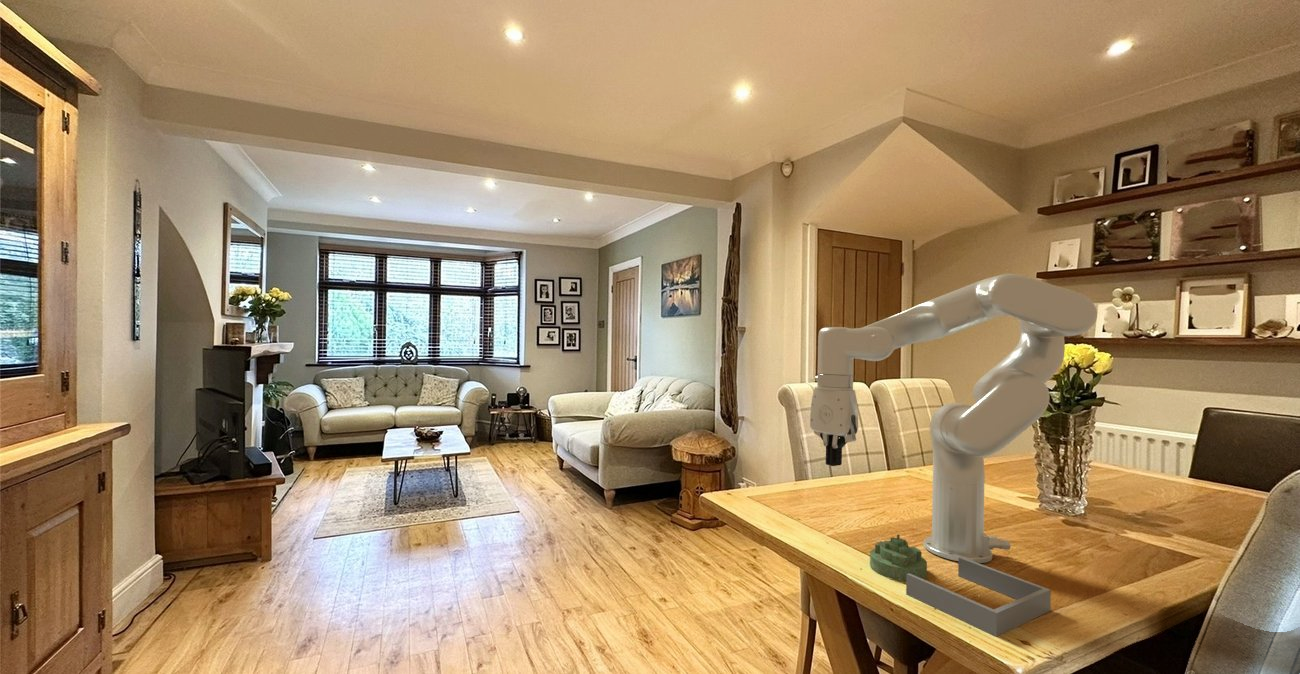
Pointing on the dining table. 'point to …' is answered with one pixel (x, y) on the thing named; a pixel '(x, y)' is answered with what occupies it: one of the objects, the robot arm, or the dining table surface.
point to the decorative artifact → (897, 560)
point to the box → (993, 621)
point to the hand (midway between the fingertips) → (833, 464)
